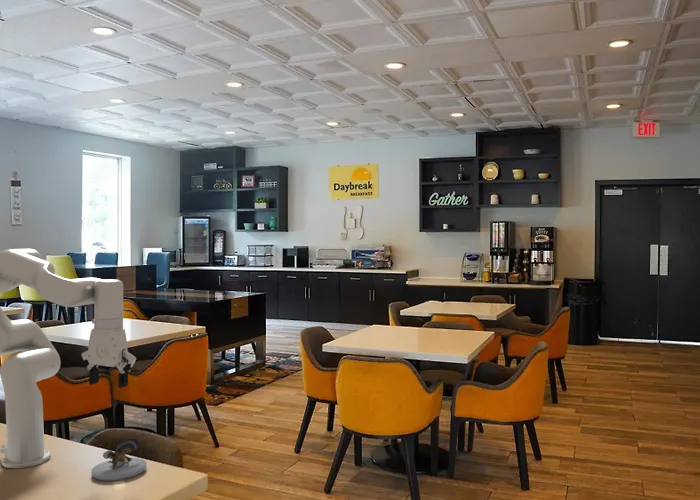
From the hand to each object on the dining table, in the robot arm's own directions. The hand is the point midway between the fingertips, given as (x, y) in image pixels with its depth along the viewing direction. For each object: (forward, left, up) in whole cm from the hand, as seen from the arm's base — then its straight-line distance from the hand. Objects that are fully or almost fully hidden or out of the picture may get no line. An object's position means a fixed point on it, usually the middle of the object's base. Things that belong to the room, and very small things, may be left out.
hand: (108, 385), depth 173 cm
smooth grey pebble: (+5, -3, -23) cm, 24 cm away
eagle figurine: (+5, -1, -22) cm, 22 cm away
